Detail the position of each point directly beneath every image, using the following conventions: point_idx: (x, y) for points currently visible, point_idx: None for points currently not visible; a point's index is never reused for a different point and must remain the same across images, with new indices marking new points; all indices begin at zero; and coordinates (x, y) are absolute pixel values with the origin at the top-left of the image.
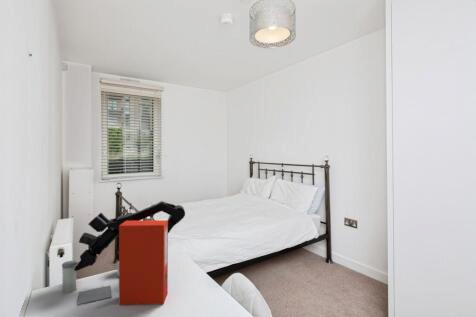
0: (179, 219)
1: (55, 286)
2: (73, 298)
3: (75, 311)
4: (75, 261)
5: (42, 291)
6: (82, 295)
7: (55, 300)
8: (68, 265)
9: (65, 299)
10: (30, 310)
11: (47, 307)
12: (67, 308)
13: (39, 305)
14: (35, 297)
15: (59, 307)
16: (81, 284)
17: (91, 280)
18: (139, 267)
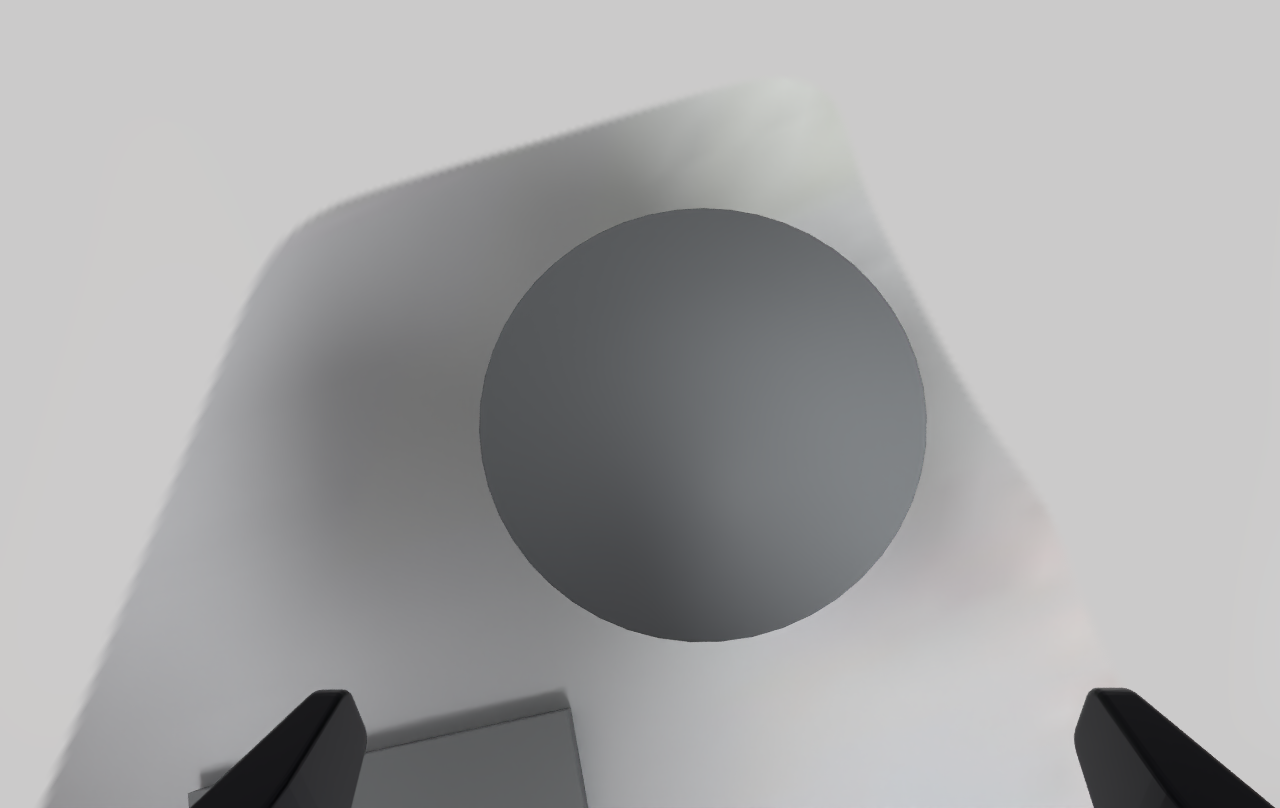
0: None
1: (873, 266)
2: (430, 660)
3: (65, 801)
4: (814, 585)
5: (756, 158)
6: (431, 797)
7: (455, 422)
8: (496, 450)
9: (439, 550)
10: (313, 226)
11: (310, 389)
12: (186, 660)
13: (393, 275)
14: (611, 145)
15: (253, 542)
16: (867, 652)
17: (998, 801)
18: None
